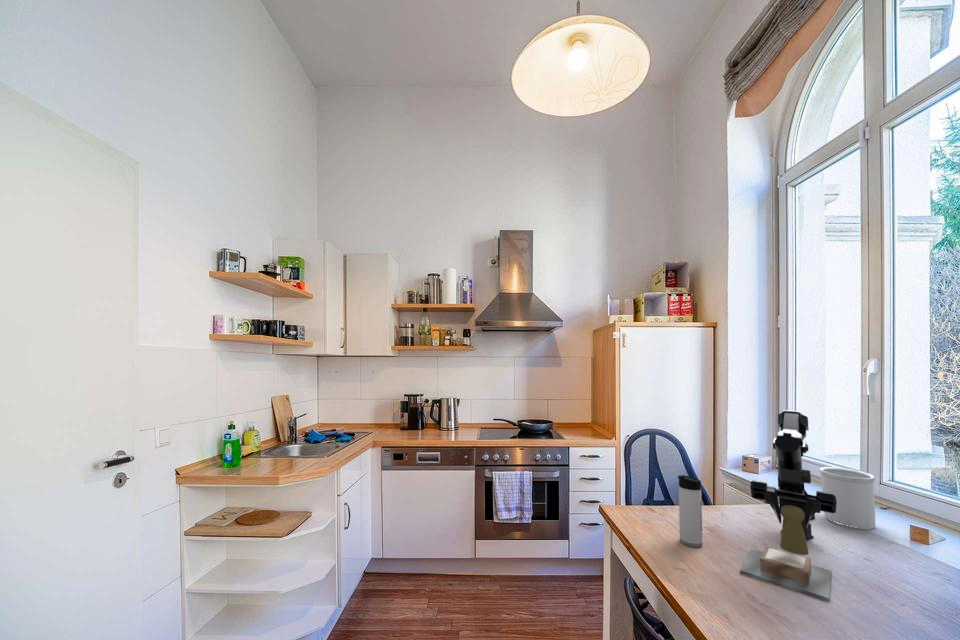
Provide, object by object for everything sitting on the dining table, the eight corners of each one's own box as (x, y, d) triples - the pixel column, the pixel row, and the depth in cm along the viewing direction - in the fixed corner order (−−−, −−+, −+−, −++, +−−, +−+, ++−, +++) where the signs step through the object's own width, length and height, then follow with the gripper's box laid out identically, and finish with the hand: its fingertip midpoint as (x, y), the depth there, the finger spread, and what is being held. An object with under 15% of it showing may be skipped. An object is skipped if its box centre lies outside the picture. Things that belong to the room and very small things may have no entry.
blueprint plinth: (740, 573, 108) (739, 557, 108) (751, 551, 121) (751, 537, 121) (829, 601, 96) (828, 583, 96) (831, 573, 109) (830, 557, 110)
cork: (811, 557, 104) (809, 512, 105) (782, 551, 107) (780, 508, 108) (805, 547, 109) (803, 505, 110) (777, 542, 112) (776, 501, 113)
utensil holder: (866, 533, 137) (863, 479, 139) (814, 517, 150) (811, 468, 152) (885, 526, 144) (882, 475, 145) (833, 511, 157) (831, 465, 159)
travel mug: (674, 538, 128) (673, 473, 130) (694, 538, 129) (693, 473, 131) (686, 547, 122) (684, 479, 124) (707, 547, 122) (705, 479, 124)
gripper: (749, 451, 119) (748, 500, 109) (833, 462, 108) (841, 518, 98) (751, 473, 124) (751, 522, 115) (832, 485, 113) (839, 541, 104)
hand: (792, 525), depth 108 cm, fingers closed on cork, 5 cm apart
